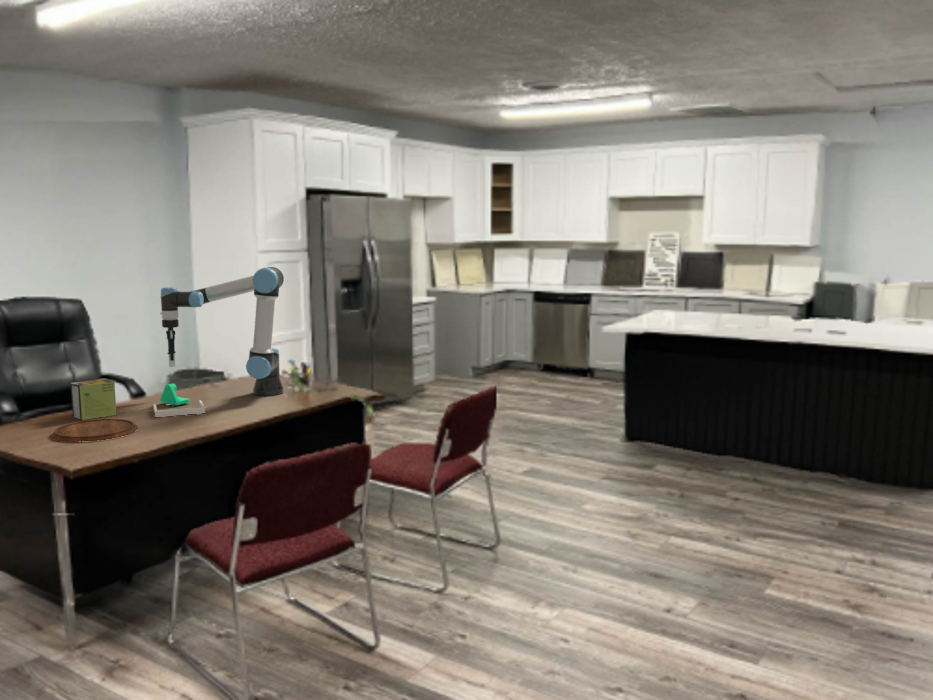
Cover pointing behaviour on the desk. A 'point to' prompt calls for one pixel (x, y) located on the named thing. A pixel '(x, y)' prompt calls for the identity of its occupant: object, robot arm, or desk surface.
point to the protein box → (93, 399)
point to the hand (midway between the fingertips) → (172, 366)
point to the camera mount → (172, 396)
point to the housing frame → (180, 411)
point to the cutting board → (94, 430)
